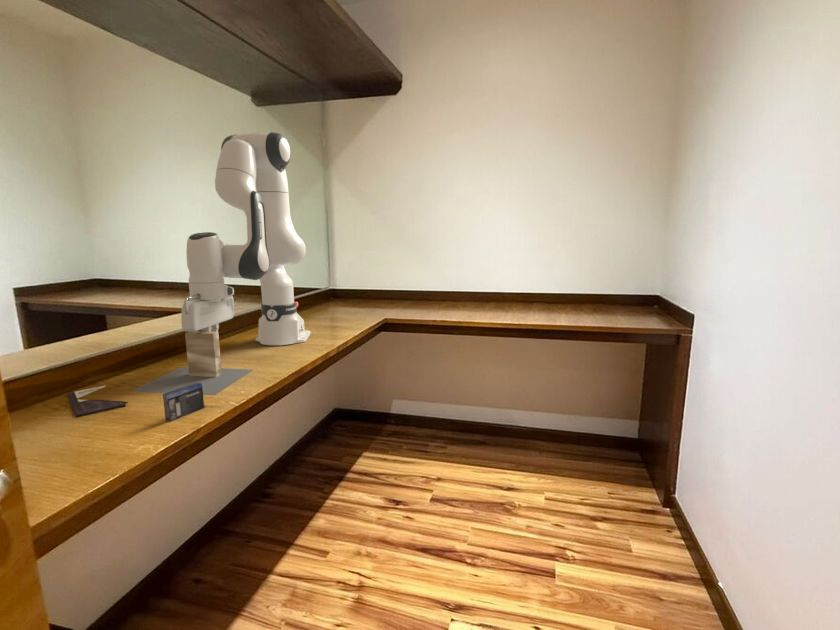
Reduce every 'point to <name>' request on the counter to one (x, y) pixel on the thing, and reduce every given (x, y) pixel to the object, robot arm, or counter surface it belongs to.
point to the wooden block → (203, 353)
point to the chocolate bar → (91, 403)
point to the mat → (193, 381)
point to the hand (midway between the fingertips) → (211, 340)
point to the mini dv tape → (183, 401)
